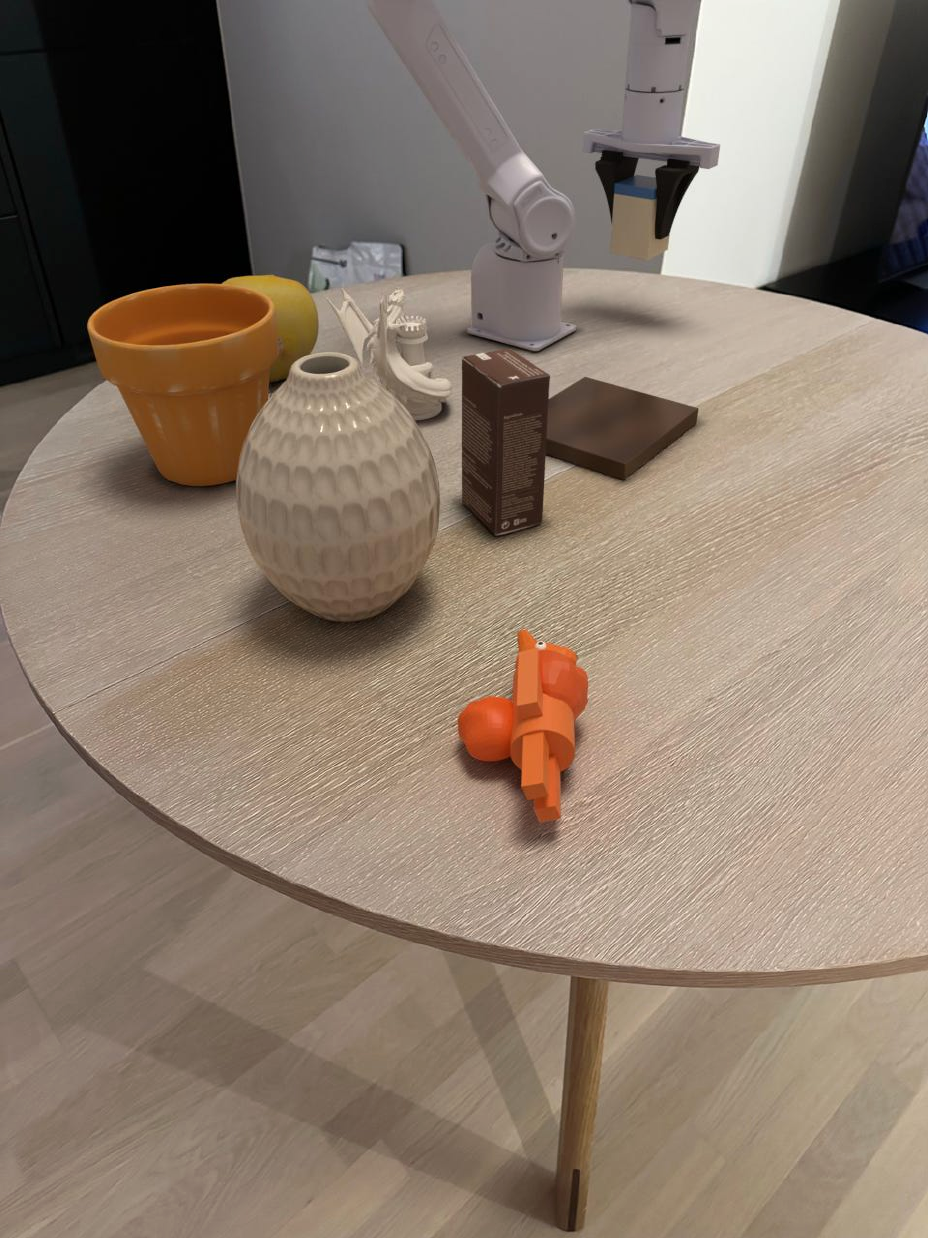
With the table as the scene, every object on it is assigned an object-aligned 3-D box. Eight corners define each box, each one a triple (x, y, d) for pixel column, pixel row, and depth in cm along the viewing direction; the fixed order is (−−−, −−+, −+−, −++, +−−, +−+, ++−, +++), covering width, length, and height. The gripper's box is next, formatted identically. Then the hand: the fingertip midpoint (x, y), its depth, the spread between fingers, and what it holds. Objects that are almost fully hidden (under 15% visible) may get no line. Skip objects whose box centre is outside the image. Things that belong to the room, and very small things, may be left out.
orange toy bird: (580, 758, 44) (574, 605, 53) (432, 787, 46) (452, 634, 55) (607, 826, 46) (597, 669, 56) (467, 850, 48) (480, 695, 58)
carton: (609, 253, 100) (614, 183, 96) (630, 242, 103) (636, 174, 99) (647, 260, 98) (654, 189, 94) (668, 249, 101) (675, 180, 96)
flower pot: (207, 413, 87) (178, 272, 80) (328, 446, 82) (311, 298, 74) (91, 478, 78) (45, 325, 70) (219, 520, 72) (185, 359, 64)
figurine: (458, 395, 90) (455, 268, 82) (445, 431, 84) (440, 298, 76) (350, 390, 91) (337, 265, 84) (329, 425, 85) (313, 293, 78)
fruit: (341, 377, 94) (331, 276, 87) (242, 404, 89) (224, 299, 83) (296, 346, 100) (284, 250, 94) (202, 370, 96) (182, 271, 90)
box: (546, 523, 71) (553, 373, 64) (494, 538, 69) (494, 386, 62) (509, 488, 75) (511, 344, 68) (459, 501, 74) (456, 355, 66)
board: (505, 440, 82) (505, 425, 81) (584, 390, 90) (584, 376, 89) (623, 480, 76) (625, 464, 75) (696, 423, 84) (699, 407, 83)
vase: (369, 679, 57) (343, 431, 47) (217, 614, 63) (163, 379, 52) (478, 576, 66) (476, 347, 55) (335, 527, 71) (309, 310, 61)
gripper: (741, 88, 90) (720, 234, 98) (610, 77, 97) (601, 214, 105) (708, 99, 85) (689, 251, 94) (574, 86, 93) (568, 229, 101)
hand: (640, 233), depth 99 cm, fingers closed on carton, 4 cm apart
